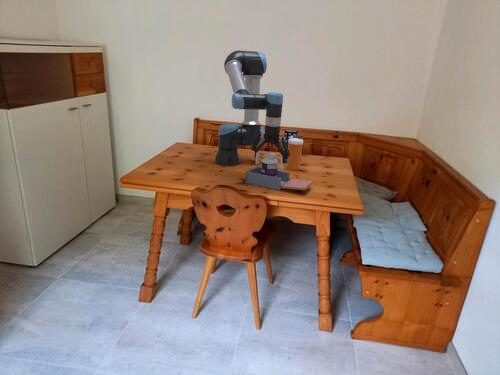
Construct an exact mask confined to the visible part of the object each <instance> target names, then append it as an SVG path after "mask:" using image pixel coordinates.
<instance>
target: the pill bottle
mask: <svg viewBox="0 0 500 375" xmlns="http://www.w3.org/2000/svg"><path fill="white" fill-rule="evenodd" d="M276 157H277V154H276V153H271V152H268V153H264V157H263V158H262V160H261V167H262V169H261V174H263V175H268V176H273V177H277V170H278V166H279V165H278V164H279V161H278V159H277V158H276Z"/></svg>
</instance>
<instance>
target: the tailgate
mask: <svg viewBox="0 0 500 375" xmlns="http://www.w3.org/2000/svg"><path fill="white" fill-rule="evenodd" d="M312 184H314V181H313V180H304V179H303V180H302V179H294V178H293V179H292V178H289V181H287V182H286V183H284V184H283V185H282V186H280V188H282V189H289V190H300V191H306V190H307V189H308V188H310V186H312Z"/></svg>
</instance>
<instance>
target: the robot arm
mask: <svg viewBox="0 0 500 375" xmlns="http://www.w3.org/2000/svg"><path fill="white" fill-rule="evenodd" d="M267 67H268V65H267V58H266V55H265V54H264V53H263V52H262V51H261V52H260V51H252V50H251V51H250V50H241V49H240V50H234V51H232V52H231V53H229V54H228V55H227V56H226V58H225V61H224V64H223V68H224V71H225V74H226V75H227V76H228V79H229V82H230V86H231V89H232V91H233V94H232V96H231V107H232V108H233V109H234V110H244V115H243V117H244V118H243V121H242V122H241V124H240V125H241V126H240V125H239V124H238V123H225V124H221V125H220V126H219V128H218V133H217V135H218V150H217V153H216V155H215V159H214V161H215V164H216V165H221V166H226V167H228V166H230V167H231V166H232V167H233V166H238V165H240V164H241V163H240V162H241V159H240V154H239V151H238V147H246V146H247V147H251V151H253V152H254V158H255V165H256V166H258V165H259V164H260V155H261V151H260V150H261V149H262V148H263V147H264V146H265V145H266V144H267V145H268V144H269V145H273V146H275V147H276V148H277V150H278V152H279V153H280V155H281V157H280V162H279V163H280V164H279V170H280V171H283V170H284V166H285V165H284V164H286V163H285V162H286V157H288V156H290V153H289V150H288V147H287V144H286V138H285V137H284V136H280V134H281V133H280V132H281V123H282V122H281V121H282V114H283V104H284V94H283V93H282V92H276V91H275V92H274V91H271V92H270V91H269V92H267V93H262V94H260V90H261V79H262V78H263V76H264V74H266V72H267V69H268V68H267ZM261 110H262V111H264V110H265V122H264V123H265V125H264V127H263V126H262V125H261V122H260V121H259V118H260V117H259V113H260V111H261ZM263 139H264V140H263ZM280 142H281V144H280ZM283 148H284V150H283Z"/></svg>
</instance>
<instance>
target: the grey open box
mask: <svg viewBox="0 0 500 375" xmlns="http://www.w3.org/2000/svg"><path fill="white" fill-rule="evenodd" d="M261 169H262V166H258V165H256V166H254V167H253V168H250V169H249V170H246V171H245V184H249V185H252V186H257V187H263V188H266V187H267V188H268V189H271V188H272V189H271V190H275V189H277V190H276V191H281V190H282V189H283V188H280V186H282V185H283V184H284V183H286V182H287V181H289V180H290V179H291V176H290V175H291V172H289V171H284V170H280V169H277V177H273V176H268V175H263V174H261ZM280 189H281V190H280Z"/></svg>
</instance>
